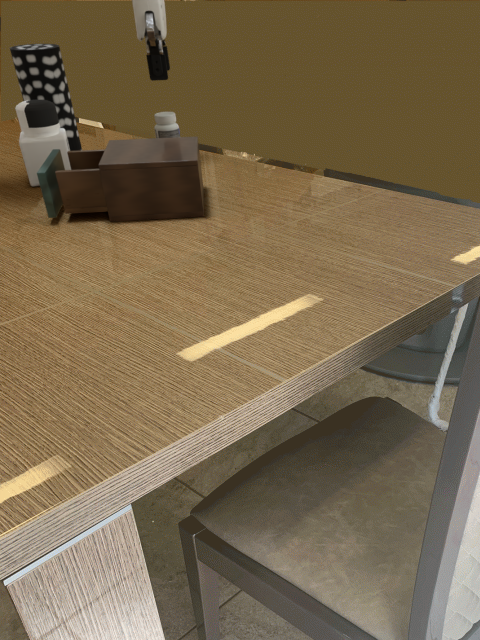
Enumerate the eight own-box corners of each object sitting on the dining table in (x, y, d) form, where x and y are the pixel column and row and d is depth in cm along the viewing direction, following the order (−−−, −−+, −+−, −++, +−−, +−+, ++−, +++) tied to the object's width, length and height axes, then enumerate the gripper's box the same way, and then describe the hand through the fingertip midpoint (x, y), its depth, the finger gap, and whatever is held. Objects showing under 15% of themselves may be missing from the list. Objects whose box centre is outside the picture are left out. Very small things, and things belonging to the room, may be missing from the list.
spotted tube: (45, 159, 129) (16, 44, 117) (88, 157, 129) (63, 43, 117) (36, 171, 122) (3, 50, 110) (80, 169, 123) (53, 49, 111)
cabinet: (110, 221, 100) (98, 164, 95) (119, 192, 112) (109, 140, 107) (204, 216, 102) (197, 160, 97) (203, 188, 113) (197, 136, 108)
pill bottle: (188, 158, 128) (182, 113, 123) (169, 164, 126) (163, 117, 120) (172, 154, 131) (166, 109, 126) (154, 159, 128) (147, 114, 123)
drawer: (40, 218, 99) (27, 173, 95) (55, 191, 110) (45, 149, 105) (137, 213, 101) (129, 168, 97) (143, 187, 111) (136, 145, 107)
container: (74, 171, 122) (57, 95, 114) (76, 183, 116) (57, 104, 108) (31, 175, 120) (11, 98, 112) (30, 187, 114) (9, 107, 106)
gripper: (125, -40, 115) (143, 68, 126) (116, -36, 102) (136, 85, 112) (168, -41, 116) (181, 66, 126) (164, -37, 102) (180, 83, 113)
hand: (160, 75), depth 119 cm, fingers open, 9 cm apart
